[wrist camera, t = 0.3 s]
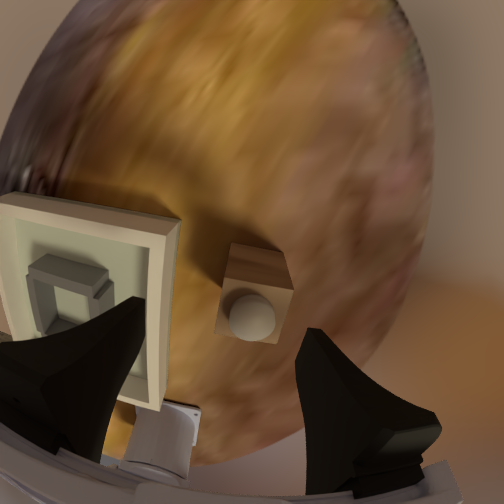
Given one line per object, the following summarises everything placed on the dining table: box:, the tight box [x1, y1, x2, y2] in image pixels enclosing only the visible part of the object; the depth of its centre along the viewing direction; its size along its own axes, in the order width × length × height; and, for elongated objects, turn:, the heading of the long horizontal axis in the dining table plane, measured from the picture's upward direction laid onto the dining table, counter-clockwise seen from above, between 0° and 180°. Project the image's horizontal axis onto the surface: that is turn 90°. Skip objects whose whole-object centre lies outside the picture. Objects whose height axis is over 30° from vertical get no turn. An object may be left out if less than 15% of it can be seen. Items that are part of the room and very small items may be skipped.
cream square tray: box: [0, 191, 181, 412], centre depth 21 cm, size 18×18×4 cm
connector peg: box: [214, 242, 294, 344], centre depth 19 cm, size 4×4×7 cm
